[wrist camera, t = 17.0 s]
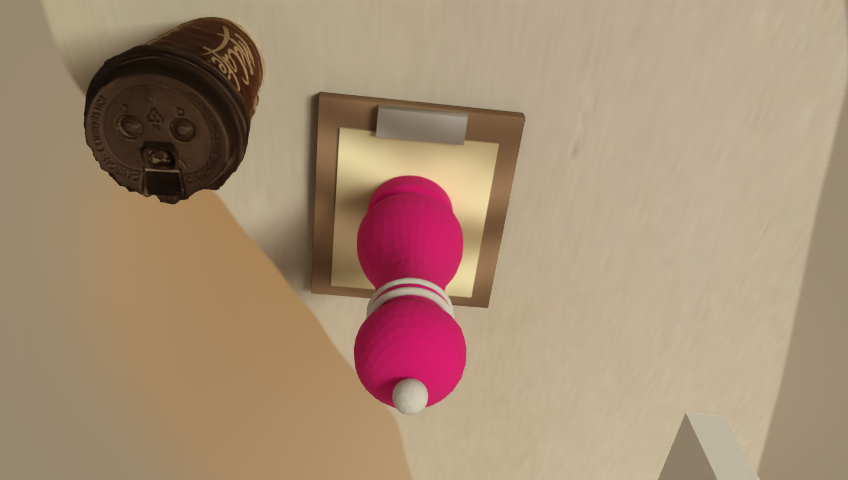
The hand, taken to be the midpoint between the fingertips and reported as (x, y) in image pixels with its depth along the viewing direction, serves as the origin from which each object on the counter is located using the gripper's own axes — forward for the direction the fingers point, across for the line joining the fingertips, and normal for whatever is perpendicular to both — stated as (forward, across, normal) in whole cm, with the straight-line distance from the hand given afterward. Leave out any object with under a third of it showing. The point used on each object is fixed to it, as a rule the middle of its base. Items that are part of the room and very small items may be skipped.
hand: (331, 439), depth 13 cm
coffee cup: (+37, -11, -5) cm, 39 cm away
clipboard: (+37, +3, -14) cm, 39 cm away
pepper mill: (+36, +3, -14) cm, 38 cm away
